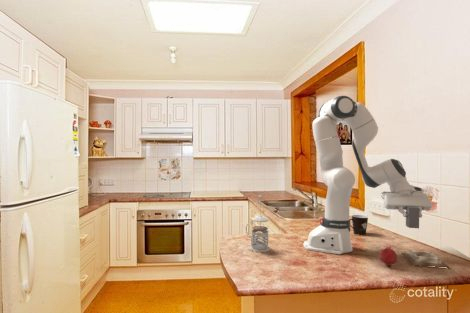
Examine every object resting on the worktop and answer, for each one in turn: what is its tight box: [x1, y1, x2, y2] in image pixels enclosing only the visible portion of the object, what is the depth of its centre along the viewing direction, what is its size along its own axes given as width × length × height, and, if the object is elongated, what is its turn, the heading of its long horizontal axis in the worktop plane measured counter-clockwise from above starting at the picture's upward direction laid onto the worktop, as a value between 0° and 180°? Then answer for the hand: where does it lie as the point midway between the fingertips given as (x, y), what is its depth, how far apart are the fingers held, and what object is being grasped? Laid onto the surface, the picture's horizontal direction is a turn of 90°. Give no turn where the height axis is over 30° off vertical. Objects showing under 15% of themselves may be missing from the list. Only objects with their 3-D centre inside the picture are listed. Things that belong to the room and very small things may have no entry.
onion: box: [379, 245, 398, 267], centre depth 113 cm, size 6×6×8 cm
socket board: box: [401, 249, 450, 269], centre depth 119 cm, size 13×13×3 cm
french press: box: [245, 195, 271, 253], centre depth 134 cm, size 10×12×25 cm
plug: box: [405, 206, 420, 229], centre depth 127 cm, size 4×4×9 cm
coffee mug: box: [349, 214, 369, 236], centre depth 163 cm, size 12×9×10 cm
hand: (413, 216), depth 127 cm, fingers closed on plug, 4 cm apart
